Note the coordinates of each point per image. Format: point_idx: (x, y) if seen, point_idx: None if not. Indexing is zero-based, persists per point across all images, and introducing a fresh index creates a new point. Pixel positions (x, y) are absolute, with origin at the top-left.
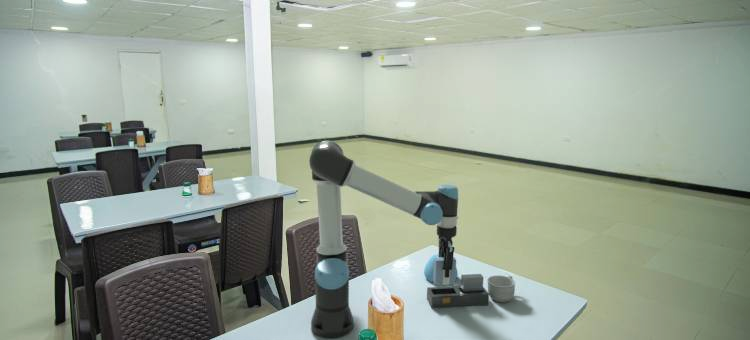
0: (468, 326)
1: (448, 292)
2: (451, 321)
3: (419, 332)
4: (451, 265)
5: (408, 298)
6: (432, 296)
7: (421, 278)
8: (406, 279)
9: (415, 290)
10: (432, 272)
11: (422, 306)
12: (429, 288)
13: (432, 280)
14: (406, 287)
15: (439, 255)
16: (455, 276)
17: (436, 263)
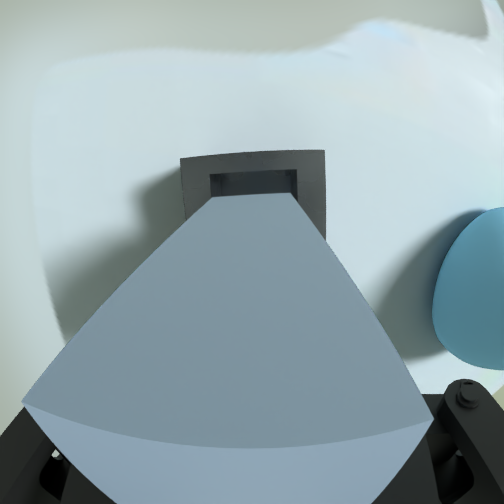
0: (78, 291)
1: None
2: (96, 235)
3: (37, 100)
4: (42, 479)
5: (317, 54)
6: (183, 162)
7: (493, 189)
8: (490, 115)
9: (403, 115)
10: (492, 245)
11: (224, 111)
12: (309, 163)
13: (462, 232)
14: (430, 82)
15: (483, 457)
16: (444, 346)
17: (83, 340)
